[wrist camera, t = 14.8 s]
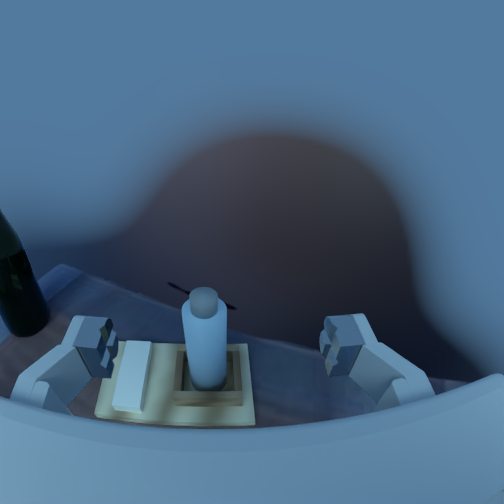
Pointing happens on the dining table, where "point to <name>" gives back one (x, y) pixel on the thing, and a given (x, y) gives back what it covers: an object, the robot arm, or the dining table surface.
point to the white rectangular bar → (133, 377)
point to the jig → (185, 391)
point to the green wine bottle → (19, 286)
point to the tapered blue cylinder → (205, 339)
